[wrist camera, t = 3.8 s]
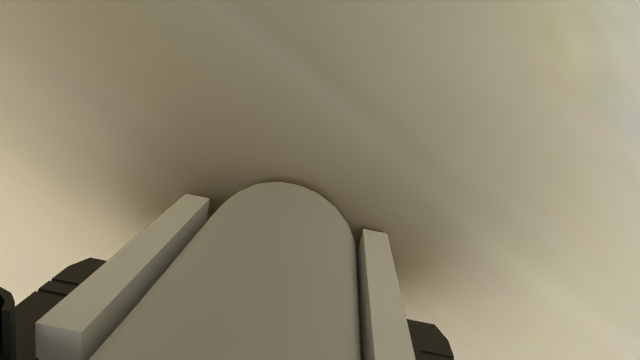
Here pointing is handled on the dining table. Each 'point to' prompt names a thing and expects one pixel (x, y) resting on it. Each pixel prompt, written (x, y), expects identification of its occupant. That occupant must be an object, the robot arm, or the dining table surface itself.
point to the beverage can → (253, 286)
